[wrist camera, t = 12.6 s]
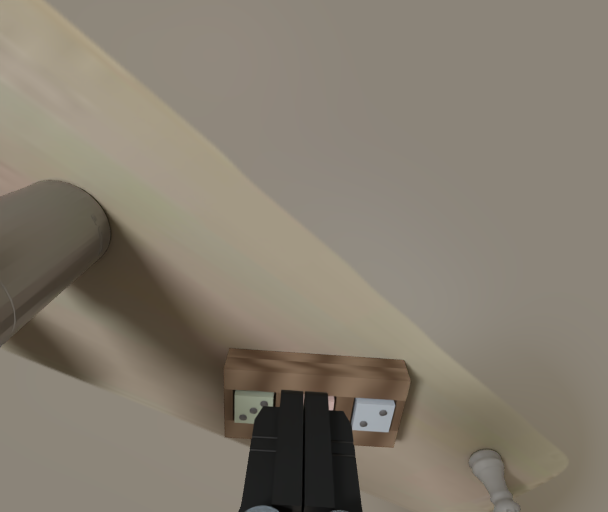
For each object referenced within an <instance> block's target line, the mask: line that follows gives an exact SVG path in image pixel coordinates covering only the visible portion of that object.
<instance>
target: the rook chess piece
mask: <svg viewBox="0 0 608 512" xmlns="http://www.w3.org/2000/svg"><path fill="white" fill-rule="evenodd" d="M469 466H470V467H471V468H472V472H473V474H474V475H475V476H476V477H477V478H479V480H480V481H481V482H483V484H484V485H485V487H486V489H487V490H488V492H489V494H490V497H491V498H490V500H491V502H492V503H493V504H494V505H495V507H494V512H520V510H521V508H520V505H519V504H517V503H516V502H514V501H513V499H512V498H513V494H512V493H511V492H509V490H508V488H507V485H506V482H505V479H504V464H503V461H502V460H501V456H500V455H499V454H498V453H497V452H495V451H493V450H490V449H482V450H478V451H476V452H474V453H473V454H472V455H471V457H470V460H469Z"/></svg>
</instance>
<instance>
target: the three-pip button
mask: <svg viewBox="0 0 608 512" xmlns="http://www.w3.org/2000/svg"><path fill="white" fill-rule="evenodd" d="M263 406H271V407H273V406H274V392H261V391H246V390H236V391H235V423H249V424H254V420H255V418H256V416H257V415H258V413H259V412H260V410H261V409H262V407H263Z"/></svg>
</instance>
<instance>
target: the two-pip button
mask: <svg viewBox="0 0 608 512" xmlns="http://www.w3.org/2000/svg"><path fill="white" fill-rule="evenodd" d="M394 408H395V403H394V400H384V399H368V398H354V402H353V407H352V413H351V425H352V430H358V431H374V432H389V428H390V424H391V420H392V416H393V412H394Z"/></svg>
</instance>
